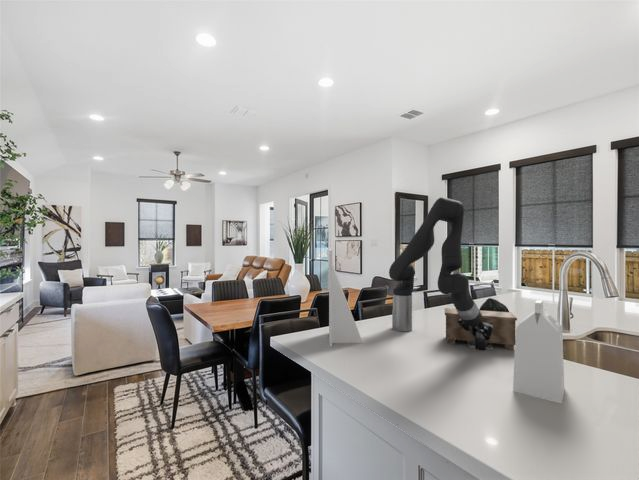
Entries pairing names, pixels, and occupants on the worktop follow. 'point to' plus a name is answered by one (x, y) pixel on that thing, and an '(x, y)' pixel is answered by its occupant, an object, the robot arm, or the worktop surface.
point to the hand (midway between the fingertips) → (482, 336)
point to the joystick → (479, 342)
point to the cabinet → (501, 327)
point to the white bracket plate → (340, 312)
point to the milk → (539, 356)
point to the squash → (493, 306)
